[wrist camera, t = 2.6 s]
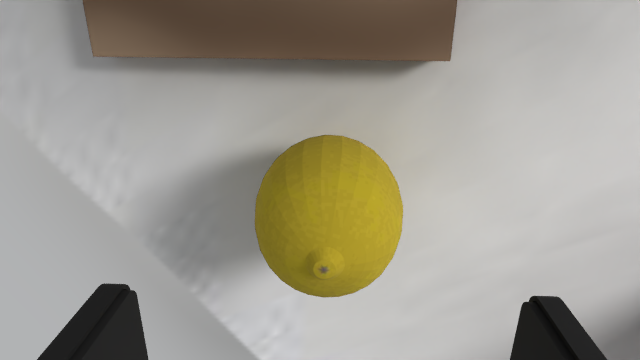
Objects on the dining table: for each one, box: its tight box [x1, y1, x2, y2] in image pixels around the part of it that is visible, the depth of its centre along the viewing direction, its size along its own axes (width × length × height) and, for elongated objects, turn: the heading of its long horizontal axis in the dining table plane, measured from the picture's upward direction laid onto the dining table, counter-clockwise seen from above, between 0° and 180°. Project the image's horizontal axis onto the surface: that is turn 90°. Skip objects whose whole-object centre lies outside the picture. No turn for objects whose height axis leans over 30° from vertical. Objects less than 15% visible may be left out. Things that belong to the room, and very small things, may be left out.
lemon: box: [255, 135, 403, 297], centre depth 17 cm, size 6×6×8 cm
